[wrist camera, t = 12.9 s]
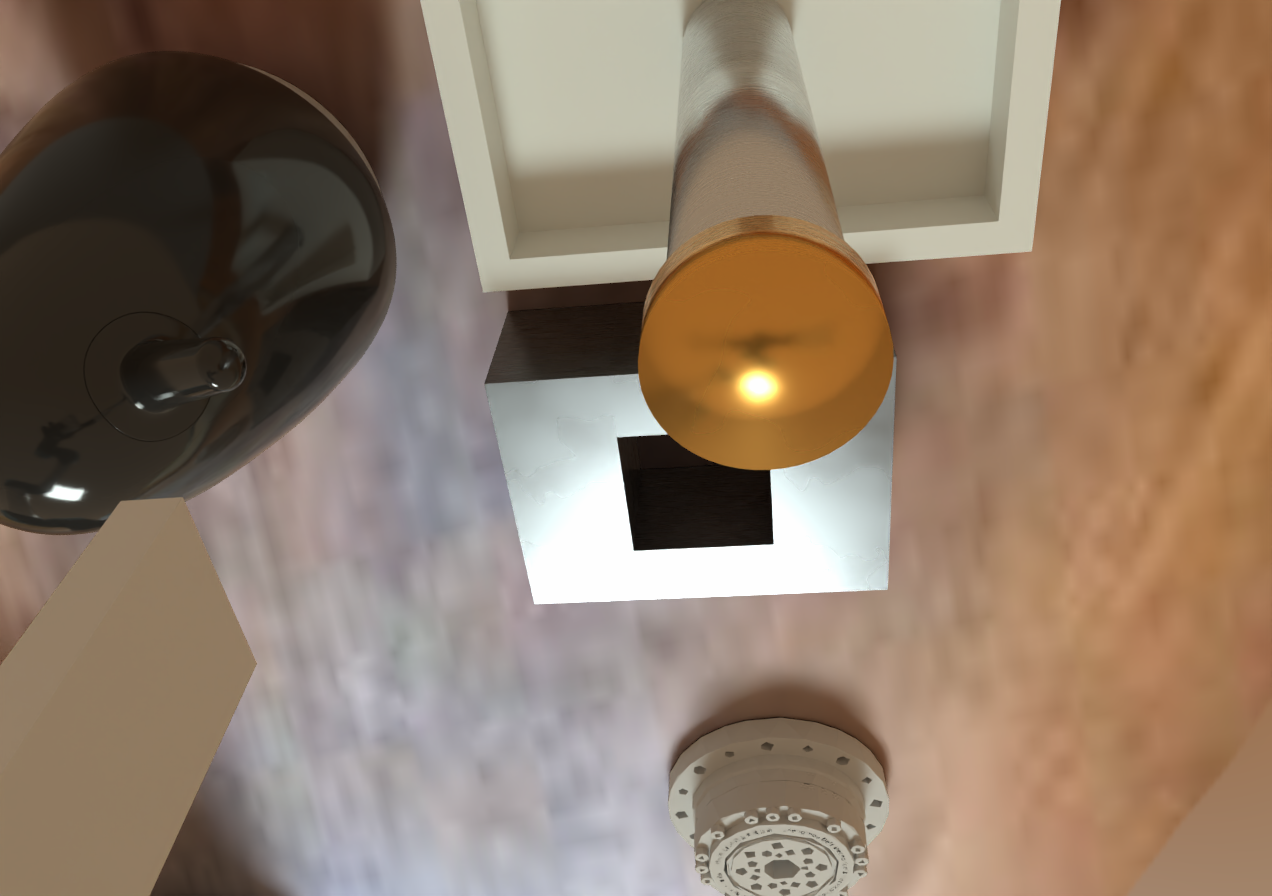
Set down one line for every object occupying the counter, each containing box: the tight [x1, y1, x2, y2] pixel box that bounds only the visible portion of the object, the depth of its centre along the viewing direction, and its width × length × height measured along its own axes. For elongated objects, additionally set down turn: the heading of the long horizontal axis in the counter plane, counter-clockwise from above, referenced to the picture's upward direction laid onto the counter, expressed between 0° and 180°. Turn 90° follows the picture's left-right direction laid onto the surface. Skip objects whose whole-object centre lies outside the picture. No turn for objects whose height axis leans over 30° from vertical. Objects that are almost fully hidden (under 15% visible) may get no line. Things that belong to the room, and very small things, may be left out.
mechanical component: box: [668, 718, 889, 896], centre depth 47 cm, size 10×4×10 cm
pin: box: [638, 0, 894, 470], centre depth 22 cm, size 4×4×17 cm
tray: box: [420, 0, 1061, 292], centre depth 28 cm, size 16×12×2 cm
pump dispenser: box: [0, 51, 396, 535], centre depth 27 cm, size 10×10×15 cm
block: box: [485, 302, 896, 604], centre depth 35 cm, size 12×9×4 cm
